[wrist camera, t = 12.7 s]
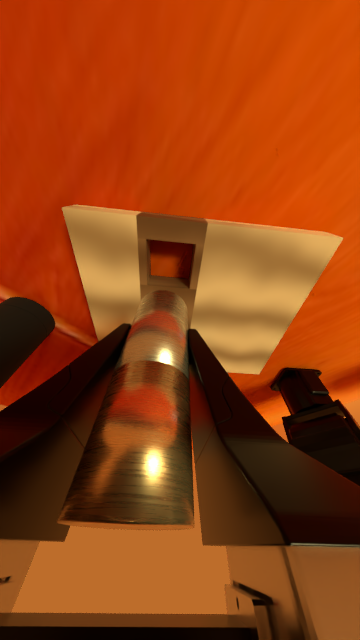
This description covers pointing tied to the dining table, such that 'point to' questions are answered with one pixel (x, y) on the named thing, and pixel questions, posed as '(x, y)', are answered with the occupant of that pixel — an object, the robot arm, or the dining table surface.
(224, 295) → the subfloor board
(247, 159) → the dining table surface
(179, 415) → the peg
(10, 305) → the wine bottle
